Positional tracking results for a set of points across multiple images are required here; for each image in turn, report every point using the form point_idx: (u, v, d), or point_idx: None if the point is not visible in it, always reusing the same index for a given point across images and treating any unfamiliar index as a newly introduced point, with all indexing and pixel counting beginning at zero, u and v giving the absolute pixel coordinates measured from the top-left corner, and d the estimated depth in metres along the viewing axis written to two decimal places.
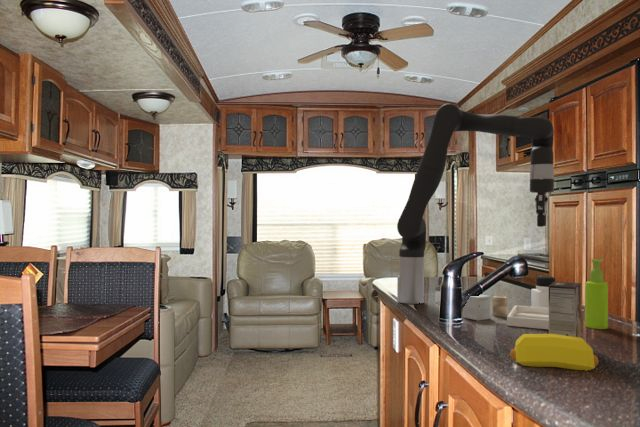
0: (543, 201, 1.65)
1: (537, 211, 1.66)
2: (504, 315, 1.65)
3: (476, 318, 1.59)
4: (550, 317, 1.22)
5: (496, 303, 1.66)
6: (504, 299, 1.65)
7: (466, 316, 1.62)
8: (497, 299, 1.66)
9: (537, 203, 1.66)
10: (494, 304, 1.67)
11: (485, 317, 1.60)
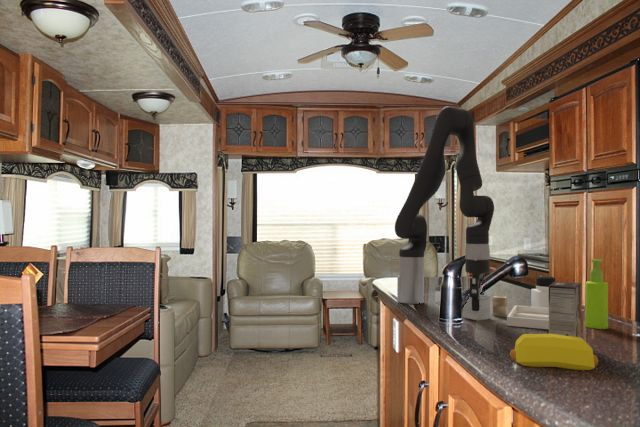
0: (477, 285, 1.56)
1: (471, 295, 1.56)
2: (504, 315, 1.65)
3: (476, 318, 1.59)
4: (550, 317, 1.22)
5: (496, 303, 1.66)
6: (504, 299, 1.65)
7: (466, 316, 1.62)
8: (497, 299, 1.66)
9: (470, 287, 1.56)
10: (494, 304, 1.67)
11: (485, 317, 1.60)
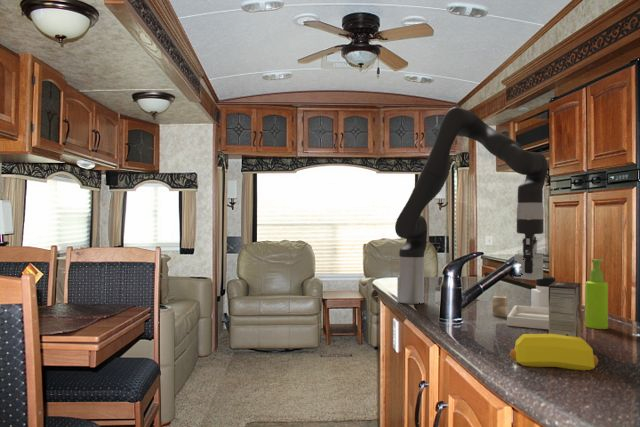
0: (531, 245, 1.47)
1: (524, 256, 1.48)
2: (504, 315, 1.65)
3: (530, 277, 1.50)
4: (550, 317, 1.22)
5: (496, 303, 1.66)
6: (504, 299, 1.65)
7: None
8: (497, 299, 1.66)
9: (524, 247, 1.48)
10: (494, 304, 1.67)
11: (539, 277, 1.52)
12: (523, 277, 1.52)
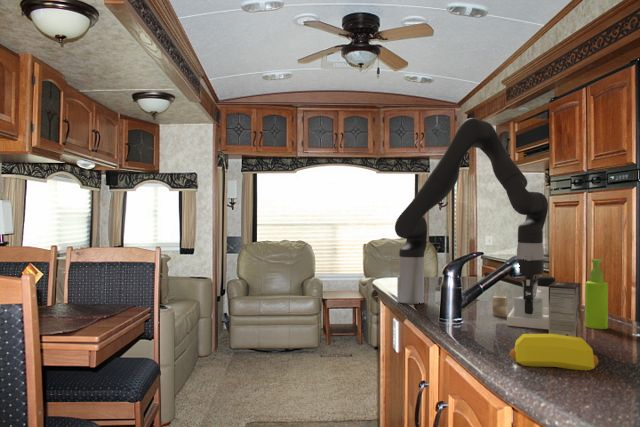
0: (531, 287, 1.47)
1: (524, 298, 1.48)
2: (504, 315, 1.65)
3: None
4: (550, 317, 1.22)
5: (496, 303, 1.66)
6: (504, 299, 1.65)
7: None
8: (497, 299, 1.66)
9: (524, 289, 1.48)
10: (494, 304, 1.67)
11: None
12: None
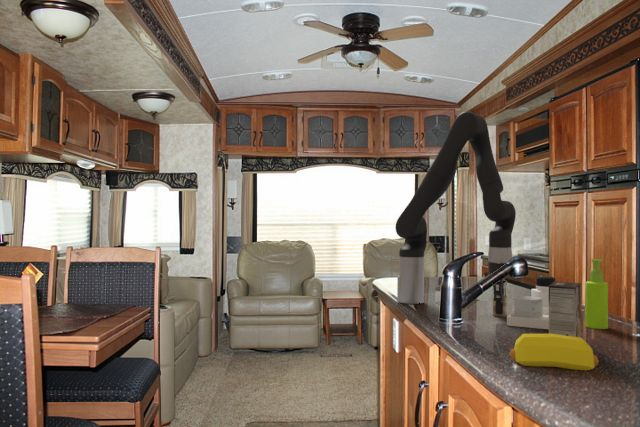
0: (500, 291, 1.62)
1: (495, 300, 1.64)
2: (504, 315, 1.65)
3: None
4: (550, 317, 1.22)
5: None
6: (504, 299, 1.65)
7: None
8: None
9: (494, 293, 1.63)
10: (494, 304, 1.67)
11: None
12: None
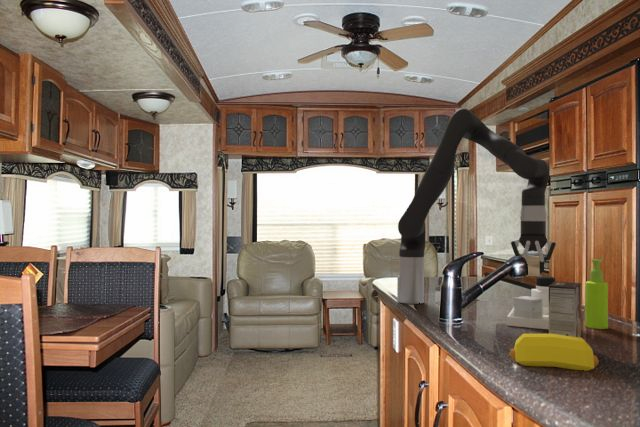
0: (513, 248, 1.66)
1: None
2: None
3: None
4: (550, 317, 1.22)
5: None
6: (526, 258, 1.64)
7: None
8: None
9: None
10: None
11: None
12: None
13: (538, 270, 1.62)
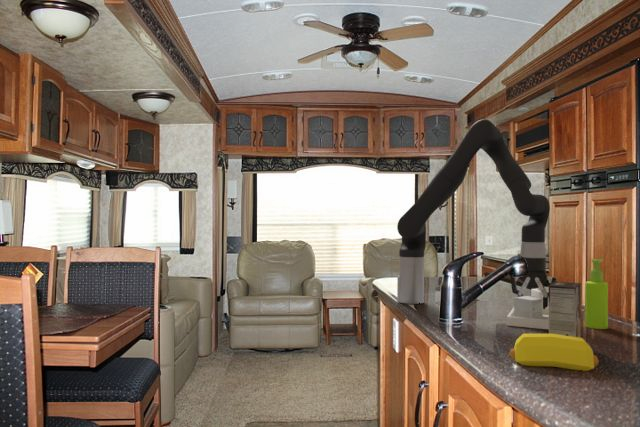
0: (511, 281, 1.66)
1: None
2: None
3: None
4: (550, 317, 1.22)
5: None
6: None
7: None
8: None
9: None
10: None
11: None
12: None
13: None
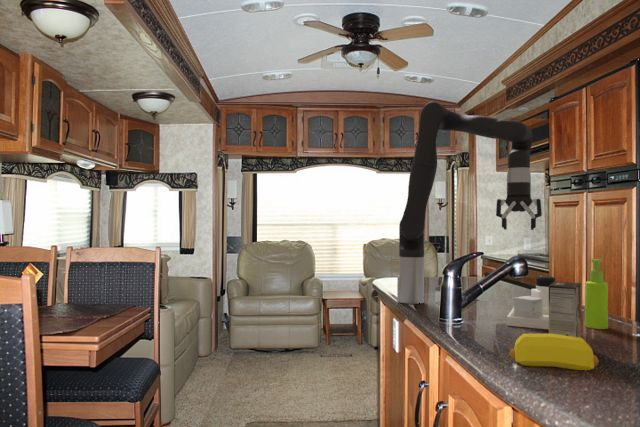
0: (497, 205, 1.74)
1: None
2: None
3: None
4: (550, 317, 1.22)
5: None
6: None
7: None
8: None
9: None
10: None
11: None
12: None
13: None
